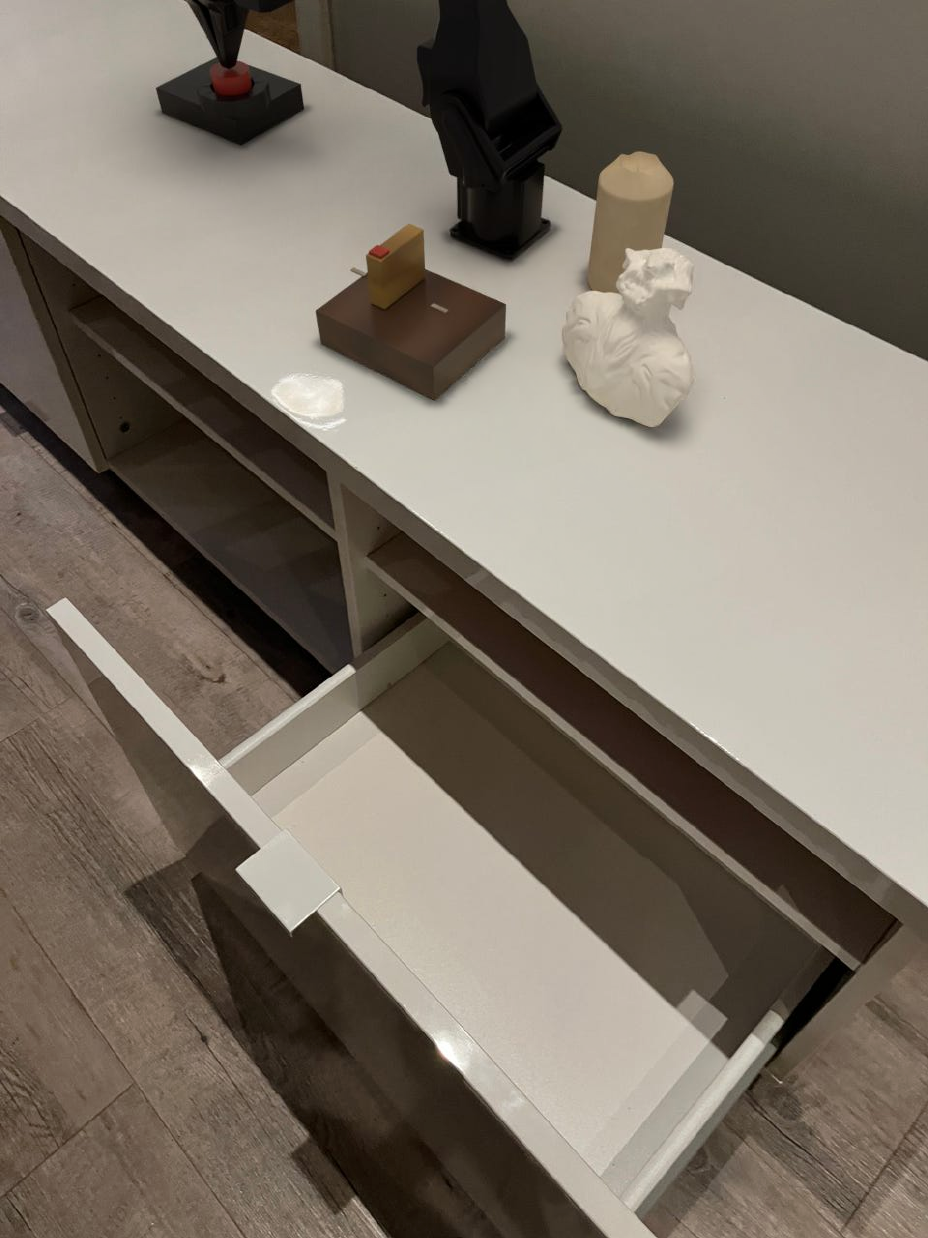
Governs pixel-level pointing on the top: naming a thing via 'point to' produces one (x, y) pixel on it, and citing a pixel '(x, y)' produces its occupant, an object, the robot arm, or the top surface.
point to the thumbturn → (396, 266)
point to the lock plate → (414, 331)
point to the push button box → (230, 103)
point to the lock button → (231, 79)
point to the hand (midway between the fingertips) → (229, 66)
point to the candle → (627, 215)
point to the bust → (634, 338)
